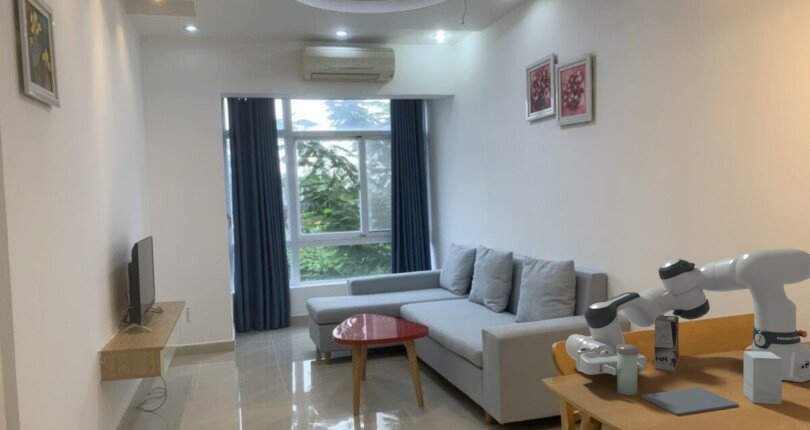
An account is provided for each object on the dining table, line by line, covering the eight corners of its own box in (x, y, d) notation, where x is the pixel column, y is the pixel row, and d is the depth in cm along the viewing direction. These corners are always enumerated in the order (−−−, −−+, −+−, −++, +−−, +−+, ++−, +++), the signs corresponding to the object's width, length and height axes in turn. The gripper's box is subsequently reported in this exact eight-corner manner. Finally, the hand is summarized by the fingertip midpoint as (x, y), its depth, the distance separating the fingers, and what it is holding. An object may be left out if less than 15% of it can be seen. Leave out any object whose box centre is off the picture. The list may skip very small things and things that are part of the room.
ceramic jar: (629, 387, 175) (629, 343, 174) (642, 394, 169) (643, 349, 169) (611, 389, 173) (612, 345, 173) (624, 396, 168) (624, 350, 167)
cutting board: (699, 389, 172) (699, 387, 172) (738, 406, 159) (738, 403, 159) (641, 397, 167) (641, 395, 167) (676, 415, 153) (676, 413, 153)
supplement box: (782, 404, 159) (782, 358, 158) (752, 403, 161) (752, 357, 160) (771, 395, 166) (771, 351, 166) (742, 393, 168) (742, 350, 167)
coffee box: (675, 371, 188) (675, 321, 188) (654, 368, 192) (653, 319, 191) (679, 364, 196) (679, 316, 195) (658, 361, 200) (658, 314, 199)
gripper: (629, 364, 186) (659, 377, 173) (572, 370, 181) (598, 385, 168) (629, 344, 186) (659, 356, 173) (572, 350, 181) (598, 363, 167)
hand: (629, 370), depth 170 cm, fingers open, 7 cm apart
